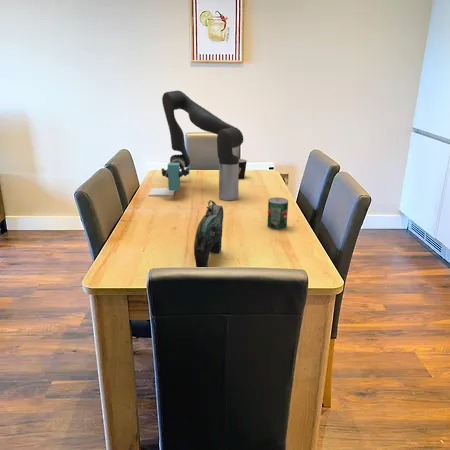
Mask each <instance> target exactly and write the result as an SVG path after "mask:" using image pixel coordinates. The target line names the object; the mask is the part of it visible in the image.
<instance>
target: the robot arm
mask: <svg viewBox="0 0 450 450" xmlns="http://www.w3.org/2000/svg"><path fill="white" fill-rule="evenodd" d="M161 100H162V101H161V102H162V108H163V111H164V114H165V118H166V123H167V125H168V129H169V135H170V142H171V144H170V145H171V149H172V150H173V151H176V152H179V153H181V154H173V155H171V156H170V158H169V163H179V167H180V172H179V178H180V179H181V178H182V177H183V176H184V177H187V176H188V175H190V168H188V167H189V166H190V164H191V159H190V157H189V154H188V152H187V148H186V144H185V135H184V130H182V128H181V126H180V125H179V123H178V121H177V119H176V117H175V111H177V110H183V111H184V112H186V113H187V114H188V118H189V121H190V122H191V123H192V124H193V125H194V126H195V127H197V128H199V129H201V130H202V131H204V132H207V133H211V134H213V135H214V134H215V135H217V136H216V149H217V150H216V151H217V157H218V166H219V167H218V180H219V181H218V198H219V200H223V201H236V200H239V181H240V179H238V172H239V159H240V158H239V156H237V155H235V154H234V152H233V149H235V148H239V147H240V146H241V145H242V144H243V142H244V135H243V133H242V131H241V130H240V129H239V128H238V127H236V126H234V125H232V124H230V123H227V121H226V122H225V121H224V120H222V119H221V118H219V117H218V116H217V115H215V114H213V113H212V112H211V111H210V110H208V109H206V108H204V107H203V106H201V105H199V104H198V103H196V102H195V101H194V100H193V99H191V98H190V97H189V96H188V95H186V93H184V92H183V91H181V90H170V91H166V92H164V93H163V94H162V98H161ZM161 175H162V177H165V178H167V179H168V168H166V169H165V168H161Z"/></svg>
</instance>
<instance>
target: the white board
mask: <svg viewBox="0 0 450 450" xmlns="http://www.w3.org/2000/svg"><path fill="white" fill-rule="evenodd" d="M175 192H176V190H169V187H151V189H150V191H149V193H148V197H174V195H175Z"/></svg>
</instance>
